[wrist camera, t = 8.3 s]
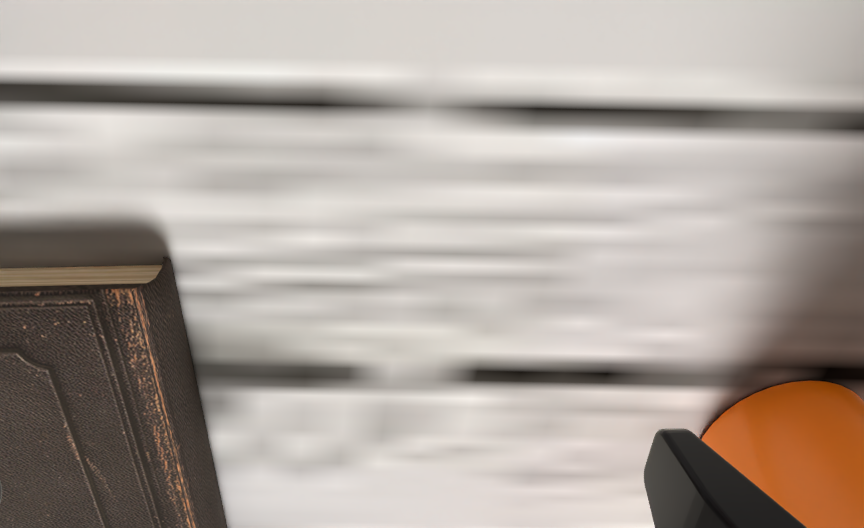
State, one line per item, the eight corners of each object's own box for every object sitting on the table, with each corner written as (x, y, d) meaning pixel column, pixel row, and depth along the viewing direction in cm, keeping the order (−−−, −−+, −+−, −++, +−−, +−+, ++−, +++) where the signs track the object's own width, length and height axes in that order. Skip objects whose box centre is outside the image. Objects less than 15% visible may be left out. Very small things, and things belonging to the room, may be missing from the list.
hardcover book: (-86, 672, 33) (-115, 725, 31) (-378, 258, 21) (-455, 304, 19) (258, 650, 34) (251, 700, 32) (176, 248, 22) (157, 289, 20)
